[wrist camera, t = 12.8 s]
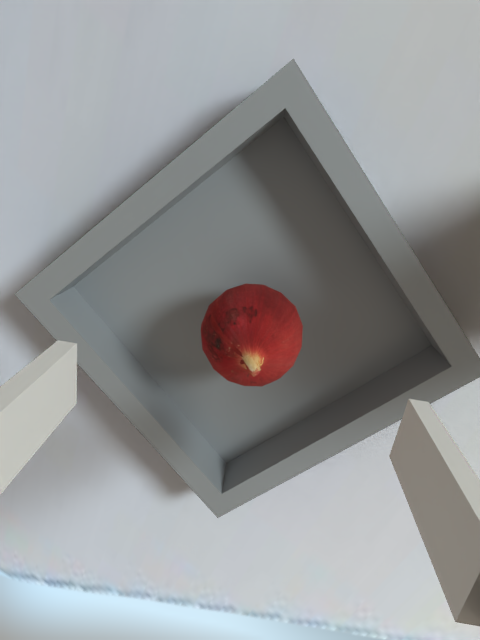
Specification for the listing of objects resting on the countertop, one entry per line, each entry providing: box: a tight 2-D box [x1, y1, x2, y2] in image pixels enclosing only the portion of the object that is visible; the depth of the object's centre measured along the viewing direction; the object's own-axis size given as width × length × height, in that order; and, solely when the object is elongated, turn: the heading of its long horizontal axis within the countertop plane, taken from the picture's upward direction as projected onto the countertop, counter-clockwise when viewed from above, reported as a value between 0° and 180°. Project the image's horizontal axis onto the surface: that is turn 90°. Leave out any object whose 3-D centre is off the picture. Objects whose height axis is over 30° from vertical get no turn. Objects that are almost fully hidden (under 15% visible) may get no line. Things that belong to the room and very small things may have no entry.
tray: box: [15, 59, 480, 518], centre depth 26 cm, size 20×20×4 cm
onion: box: [201, 284, 303, 387], centre depth 24 cm, size 6×6×8 cm
